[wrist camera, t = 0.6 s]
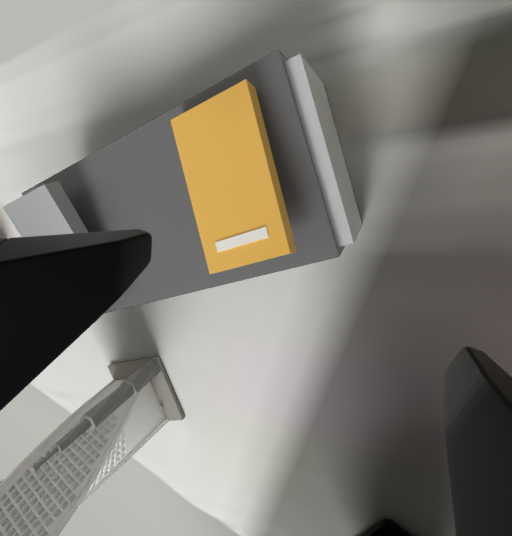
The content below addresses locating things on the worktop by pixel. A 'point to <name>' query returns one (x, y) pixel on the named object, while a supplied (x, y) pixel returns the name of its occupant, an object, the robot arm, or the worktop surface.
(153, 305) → the worktop surface
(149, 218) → the grey switch box
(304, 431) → the worktop surface
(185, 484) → the worktop surface
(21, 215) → the rocker outlet
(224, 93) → the rocker outlet
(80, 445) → the skyscraper
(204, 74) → the worktop surface
